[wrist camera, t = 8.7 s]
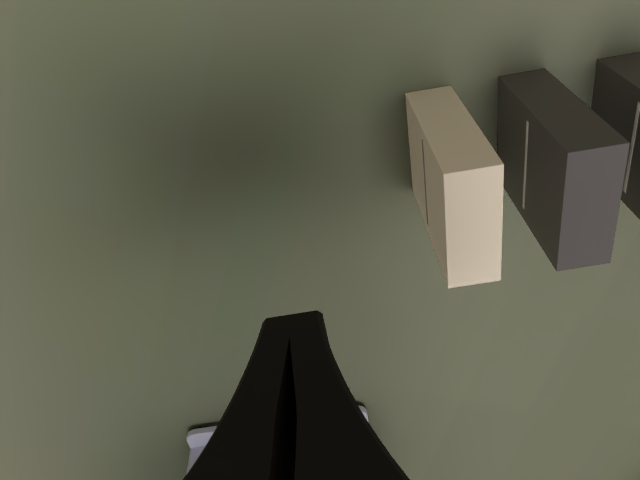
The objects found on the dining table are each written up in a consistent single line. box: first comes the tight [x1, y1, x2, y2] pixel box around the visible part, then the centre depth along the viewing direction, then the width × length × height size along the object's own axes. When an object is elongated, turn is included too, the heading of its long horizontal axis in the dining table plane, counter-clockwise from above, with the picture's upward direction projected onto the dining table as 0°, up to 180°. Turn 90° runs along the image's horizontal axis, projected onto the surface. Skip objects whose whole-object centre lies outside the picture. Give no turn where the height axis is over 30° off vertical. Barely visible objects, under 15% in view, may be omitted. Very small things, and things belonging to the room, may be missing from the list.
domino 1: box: [405, 85, 504, 288], centre depth 19 cm, size 2×4×6 cm, turn 9°
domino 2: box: [497, 68, 630, 271], centre depth 18 cm, size 2×4×6 cm, turn 9°
